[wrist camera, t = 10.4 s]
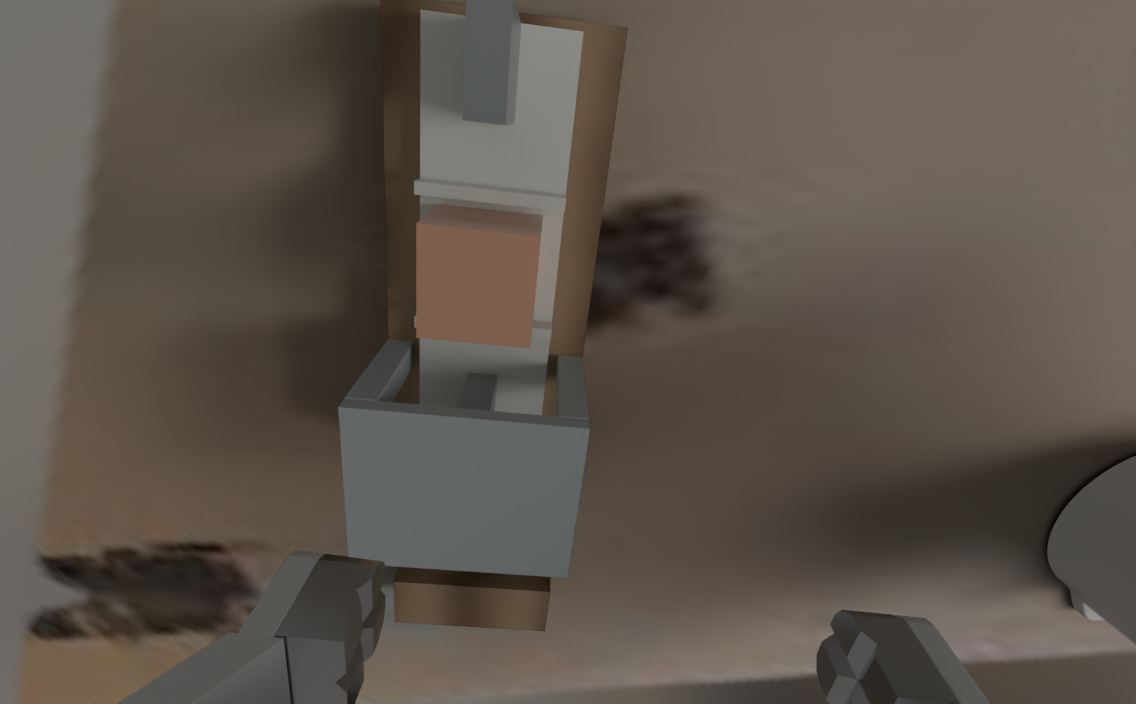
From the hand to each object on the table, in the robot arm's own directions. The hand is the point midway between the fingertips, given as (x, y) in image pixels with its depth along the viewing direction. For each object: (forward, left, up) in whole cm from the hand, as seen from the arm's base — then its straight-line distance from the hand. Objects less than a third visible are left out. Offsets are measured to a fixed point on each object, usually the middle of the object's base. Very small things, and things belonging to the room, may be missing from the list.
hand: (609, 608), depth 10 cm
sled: (+4, -1, -21) cm, 21 cm away
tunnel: (+4, +9, -21) cm, 23 cm away
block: (+4, -1, -20) cm, 20 cm away
